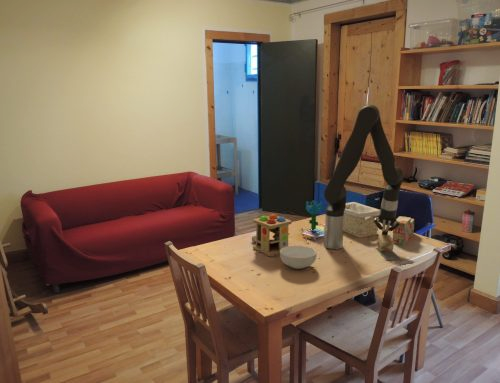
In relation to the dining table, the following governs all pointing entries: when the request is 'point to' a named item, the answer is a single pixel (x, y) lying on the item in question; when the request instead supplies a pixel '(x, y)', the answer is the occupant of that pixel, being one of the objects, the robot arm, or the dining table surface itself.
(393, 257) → the mat
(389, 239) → the cube
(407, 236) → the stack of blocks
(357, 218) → the storage basket
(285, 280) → the dining table surface
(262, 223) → the pounding bench toy
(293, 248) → the cereal bowl
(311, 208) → the toy flower
